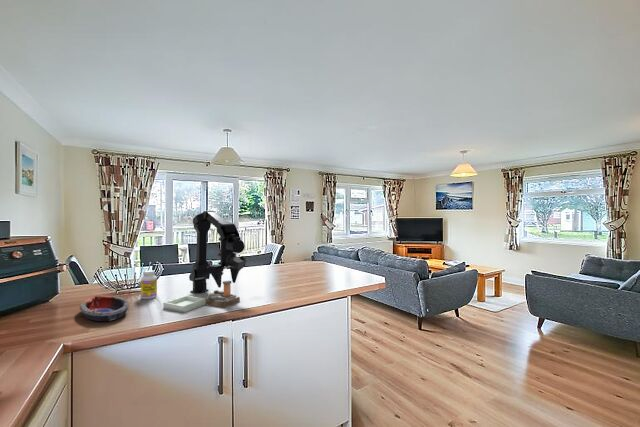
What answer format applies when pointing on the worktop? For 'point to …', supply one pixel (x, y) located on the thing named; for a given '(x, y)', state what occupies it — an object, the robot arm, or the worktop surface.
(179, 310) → the tray
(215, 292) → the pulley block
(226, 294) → the pin
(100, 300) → the dish
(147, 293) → the supplement bottle
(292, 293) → the worktop surface
